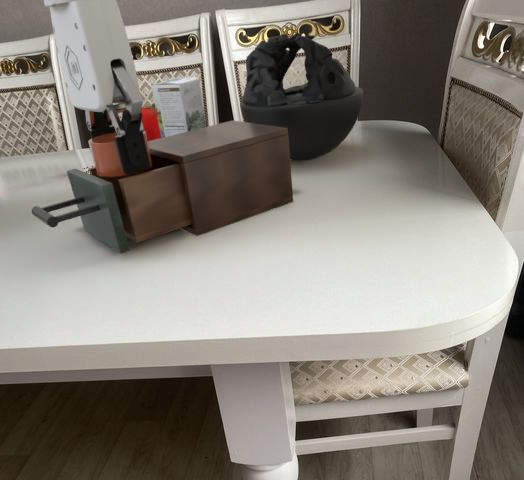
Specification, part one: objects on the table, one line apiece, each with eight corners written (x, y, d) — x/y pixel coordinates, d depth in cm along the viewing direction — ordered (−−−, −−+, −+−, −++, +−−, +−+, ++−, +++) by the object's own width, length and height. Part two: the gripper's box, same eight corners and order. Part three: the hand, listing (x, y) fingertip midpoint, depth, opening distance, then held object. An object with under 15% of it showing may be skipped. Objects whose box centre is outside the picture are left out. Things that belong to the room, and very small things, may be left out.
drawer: (69, 271, 58) (46, 201, 53) (38, 246, 66) (15, 183, 61) (224, 217, 67) (215, 154, 63) (180, 201, 75) (169, 144, 71)
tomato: (120, 168, 100) (106, 109, 95) (161, 152, 108) (150, 98, 102) (166, 171, 94) (154, 109, 88) (206, 155, 102) (197, 96, 96)
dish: (111, 182, 59) (101, 145, 57) (89, 174, 64) (79, 139, 61) (162, 168, 62) (155, 132, 60) (138, 161, 67) (130, 128, 64)
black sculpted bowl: (271, 145, 102) (260, 33, 92) (374, 143, 95) (375, 21, 85) (229, 176, 87) (210, 45, 77) (347, 175, 80) (344, 31, 69)
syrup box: (185, 166, 95) (169, 78, 87) (213, 167, 93) (199, 76, 85) (168, 176, 91) (149, 83, 83) (196, 176, 89) (179, 81, 81)
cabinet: (197, 236, 65) (182, 156, 60) (151, 215, 74) (134, 144, 69) (293, 201, 72) (287, 127, 67) (241, 186, 81) (232, 120, 76)
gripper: (17, -3, 57) (69, 165, 67) (72, -22, 45) (125, 187, 55) (83, -10, 61) (122, 151, 70) (150, -29, 48) (187, 169, 58)
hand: (123, 165), depth 62 cm, fingers closed on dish, 6 cm apart
